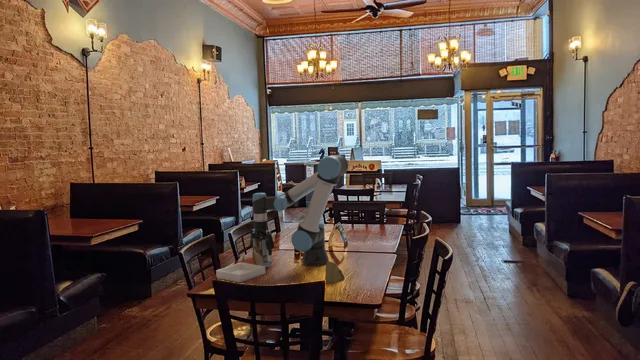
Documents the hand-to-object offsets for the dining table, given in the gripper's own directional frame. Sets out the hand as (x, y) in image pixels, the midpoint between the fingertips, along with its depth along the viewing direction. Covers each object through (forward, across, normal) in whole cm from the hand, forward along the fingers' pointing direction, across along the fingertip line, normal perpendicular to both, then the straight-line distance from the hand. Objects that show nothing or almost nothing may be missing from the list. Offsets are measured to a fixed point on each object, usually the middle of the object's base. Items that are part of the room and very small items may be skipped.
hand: (262, 259), depth 268 cm
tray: (+4, +3, -20) cm, 21 cm away
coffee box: (+4, 0, 0) cm, 4 cm away
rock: (+4, +52, -4) cm, 52 cm away
